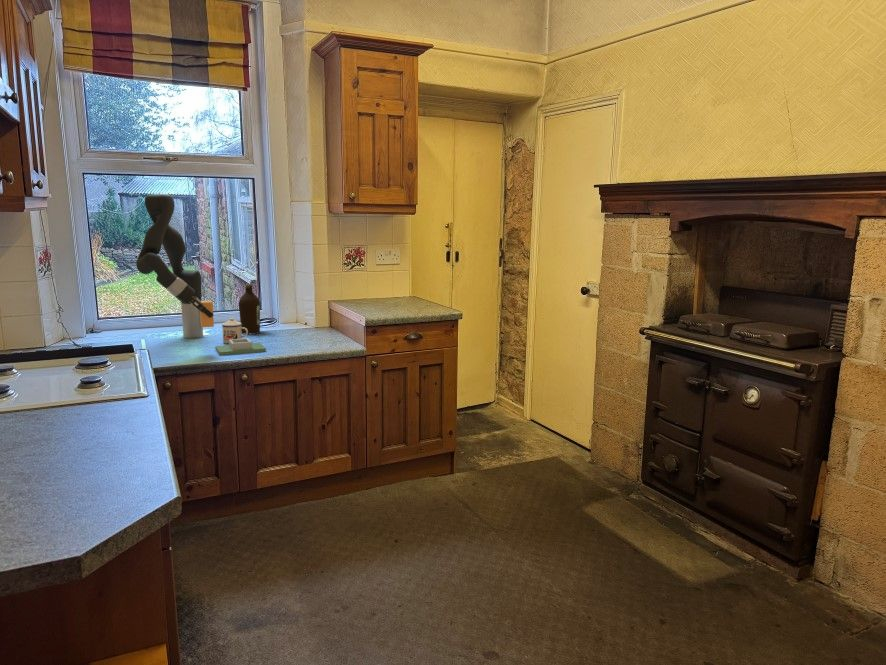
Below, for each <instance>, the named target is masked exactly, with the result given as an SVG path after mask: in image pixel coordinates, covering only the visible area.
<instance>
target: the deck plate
mask: <svg viewBox="0 0 886 665" xmlns="http://www.w3.org/2000/svg"><path fill="white" fill-rule="evenodd" d="M214 347H215V348H214V349H215V351H216V352H217V353H218V355H219V356H230V355H240V354H241V355H242V354H253V353H254V352H255V353H265V352H264V351H266V350H267V348H266V347H265V345H263V344H262V343H261V342H252V341H251V339H249V338H248V337H246V338H245V337H243V338H242V339H231V340H229V344H227V345H226V344H225V345H215V346H214ZM266 352H267V351H266Z"/></svg>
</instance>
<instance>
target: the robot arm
mask: <svg viewBox="0 0 886 665" xmlns="http://www.w3.org/2000/svg"><path fill="white" fill-rule="evenodd" d="M144 205H145V209H146V212H147V213H148V216H149V218H150V219H151V221H152V225H151V226H150V227H149V228H148V229H147V231H146V233H145V235H144V240H143V245H142V248H141V250H140V252H139V254H138V257H137V259H136V263H135V264H136V269H137V270H138V272H139V273H141V274H143V275H149V274H151V273H153V272H155V274H156V278H155V279H156V280H155V281H156V282H158V284H159V285H161V286H162V287H163V288H165V289H166V291H168V292H169V293H170V294H171V295H172V296H173V297H175V298H176V299H177V300H178V301H179V302H180V305H181V307H180V308H181V320H182V336H183V338H184V339H197V338H202V337H204V327H201V323H200V311H201V312H202V313H204V314H206V315H207V316H208V317H209V318H211V317H212V316H213V317H214V312H213V313H211V312H210V311H209V310H208V309H207V308H206V307H205V306H203V303H202V302H201V301H202V296H203V294H202V283H203V282H202V274H201V273H200V270H196V269H195V270H191V269H185V268H184V266H183V263H182V262H183V260H184V257H185V254H186V250H187V248H186V244H185V241H184V239H183V236H182V234H181V233H180V232H179V231H178V230H177V229H176V228H175V227H173V226H172V225H171V224H170V222H171V220H172V217H173V215H174V213H175V205H176V204H175V201H174V198H173V196H172V195H171V194H169V193H159V194H158V193H156V194H147V195H146V196H145V198H144ZM162 247H163V249H164V251H165V253H166V256H167V258H168V261H169V263H170V266H171V269H172V271H171V270H170V269H169V267H168V265H167V264H166V263H165V261H164V260H163V259H162V258H161V257H160V256H159V254H160V252H161V250H162ZM200 303H201V304H200ZM201 307H204V308H203V309H202V310H201V309H200V308H201Z"/></svg>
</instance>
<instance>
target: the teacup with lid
mask: <svg viewBox="0 0 886 665" xmlns="http://www.w3.org/2000/svg"><path fill="white" fill-rule="evenodd" d="M241 325H242V324H241V323H240V322H239V321H237V320H235V319H234V317H230V318H229V319H228V320H227V321H224V322H223V323H222V324H221V327H222V341H223V343H224V344H227V343H228V344H227V345H229V340H231V339H244V338H245V337H246V338H247V335H249V334H248V330H247V329H246V328H245V327H241ZM241 329H245V330H246V334H244V335H242V334H243V333H242V330H241Z"/></svg>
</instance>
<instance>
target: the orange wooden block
mask: <svg viewBox="0 0 886 665" xmlns="http://www.w3.org/2000/svg"><path fill="white" fill-rule="evenodd" d="M201 302H202V303H203V306H205V307H206V308H207V309H208V310H209V311H210V312H211V313H213V314H214V304H213V301H212V300H201ZM200 304H201V303H200ZM203 308H204V307H201V308H200V309H201V310H202V309H203ZM200 323H201V327H203V328H214V327H215V322H214V315H213V316H212V317H211V318H209V317H208V316H207V315H206V314H204V313H202V312H201V311H200Z"/></svg>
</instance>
